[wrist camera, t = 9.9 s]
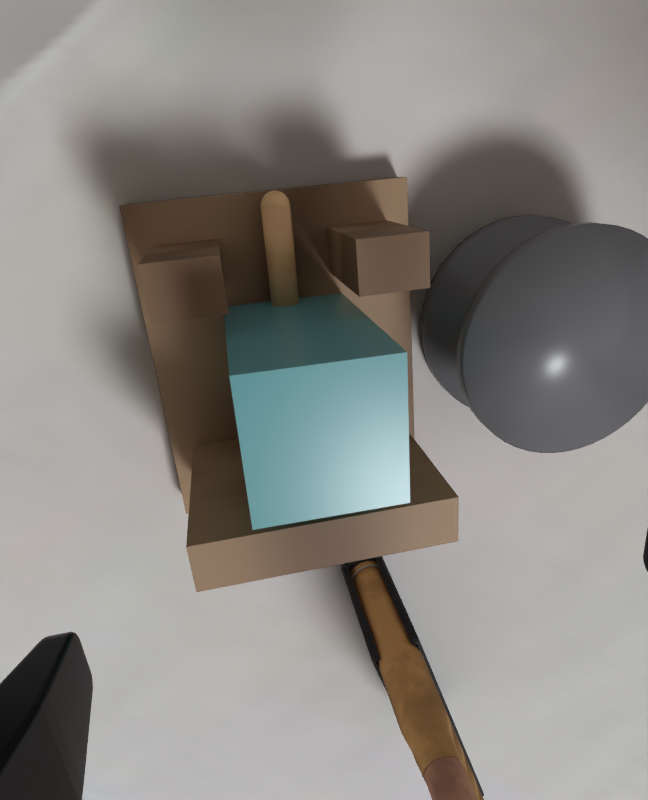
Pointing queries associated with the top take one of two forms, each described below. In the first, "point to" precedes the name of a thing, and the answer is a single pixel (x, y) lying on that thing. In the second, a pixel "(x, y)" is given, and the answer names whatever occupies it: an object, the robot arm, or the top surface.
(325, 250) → the notch board
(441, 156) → the top surface
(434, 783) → the ammunition clip
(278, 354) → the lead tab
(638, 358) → the spool
